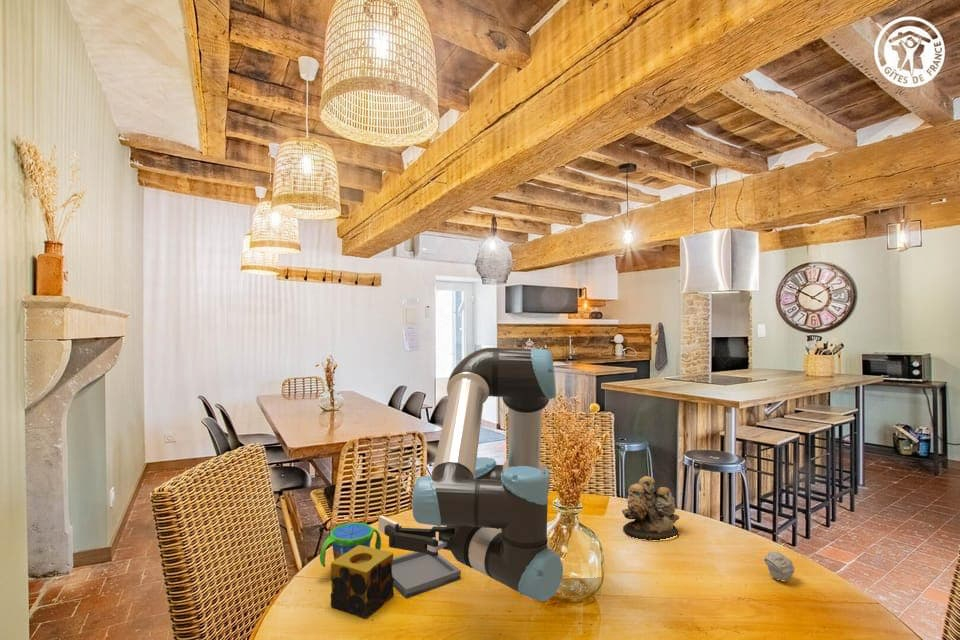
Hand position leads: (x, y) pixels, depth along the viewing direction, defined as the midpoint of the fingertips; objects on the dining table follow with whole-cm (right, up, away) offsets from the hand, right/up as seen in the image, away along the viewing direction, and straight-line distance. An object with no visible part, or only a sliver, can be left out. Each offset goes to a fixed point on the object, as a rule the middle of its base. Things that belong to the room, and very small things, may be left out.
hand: (407, 513), depth 100 cm
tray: (0, -23, +19) cm, 30 cm away
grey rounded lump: (+90, -25, +20) cm, 96 cm away
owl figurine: (+67, -25, +46) cm, 85 cm away
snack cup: (-17, -23, +20) cm, 35 cm away
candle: (-11, -23, +8) cm, 27 cm away
